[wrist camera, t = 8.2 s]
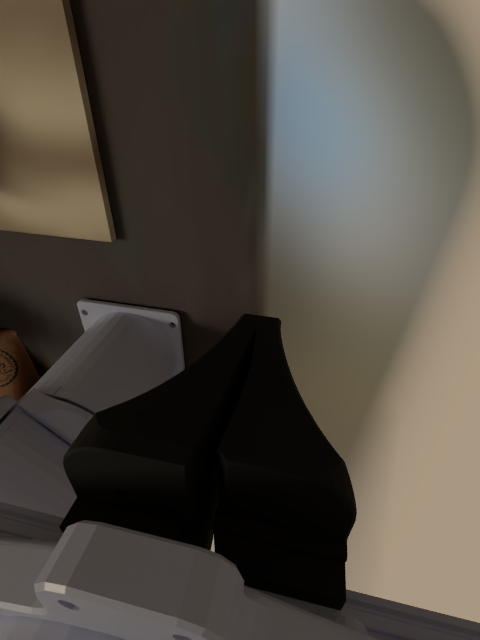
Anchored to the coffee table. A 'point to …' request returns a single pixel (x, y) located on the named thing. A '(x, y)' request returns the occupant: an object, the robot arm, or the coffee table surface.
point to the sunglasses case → (15, 366)
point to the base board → (47, 127)
